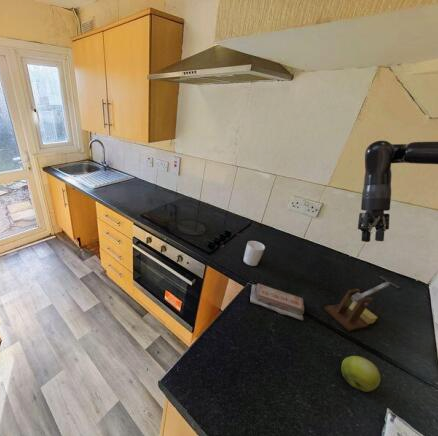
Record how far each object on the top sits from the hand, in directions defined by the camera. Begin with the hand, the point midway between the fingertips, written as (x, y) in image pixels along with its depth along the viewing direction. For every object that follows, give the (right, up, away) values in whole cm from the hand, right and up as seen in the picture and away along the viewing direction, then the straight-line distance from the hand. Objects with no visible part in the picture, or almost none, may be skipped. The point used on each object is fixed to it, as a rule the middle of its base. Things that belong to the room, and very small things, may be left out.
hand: (372, 241), depth 84 cm
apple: (-25, -38, -19) cm, 49 cm away
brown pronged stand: (-10, -29, +1) cm, 30 cm away
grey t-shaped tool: (-3, -18, -3) cm, 19 cm away
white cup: (-32, -13, +28) cm, 45 cm away
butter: (-3, -28, +3) cm, 29 cm away
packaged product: (-33, -25, +5) cm, 42 cm away
